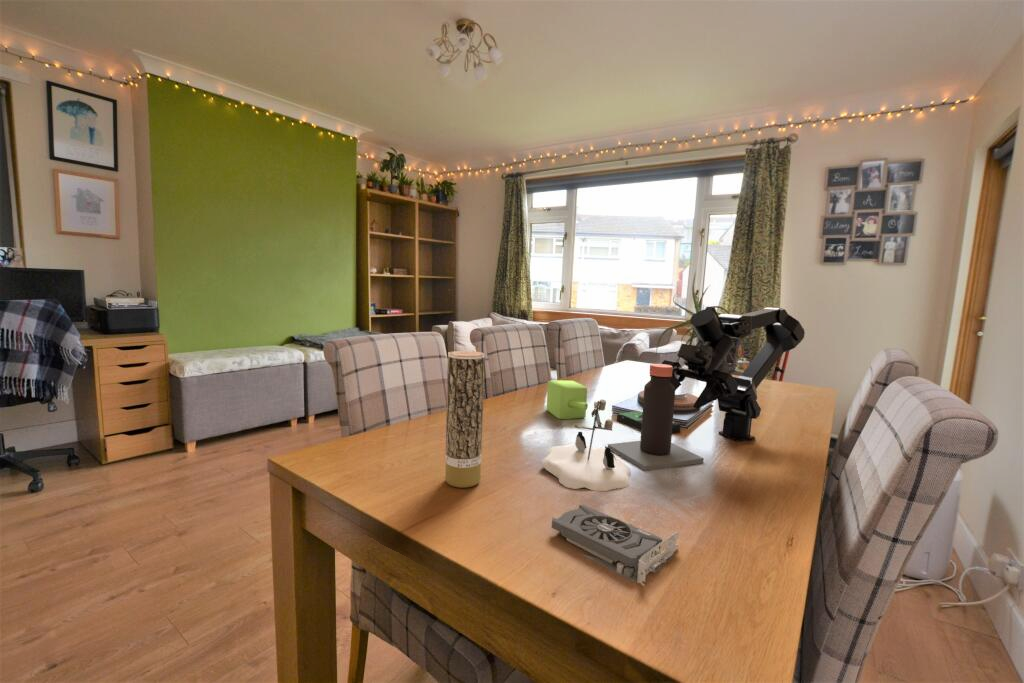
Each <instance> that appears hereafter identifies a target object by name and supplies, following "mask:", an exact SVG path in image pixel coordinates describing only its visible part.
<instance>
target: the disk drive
mask: <svg viewBox="0 0 1024 683" xmlns="http://www.w3.org/2000/svg"><path fill="white" fill-rule="evenodd" d="M642 413H643V412H638V411H637V410H630V411H626V412H625V411H624V412H618V414H617V415H616V421H618V422H620V423H622V424H625V425H627V426H629V427H632V428H634V429H636V430H638V431H641V427H642ZM681 425H682V424H681V423H680V422H677V421H675V420H673V425H672V434H673V433H676V432H677V433H679V432H681Z"/></svg>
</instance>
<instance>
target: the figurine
mask: <svg viewBox="0 0 1024 683" xmlns="http://www.w3.org/2000/svg"><path fill="white" fill-rule="evenodd" d="M606 405H607V401H606V400H605V399H599V400H598V401H597V402H596V401H594V403H593V410H592V412H590V413H591V418H593V426H592V427H588V426H587V427H586V426H581V425H578V423H574V424H573V427H574V428H576V429H578V430H579V429H580V430H581V431H578V433H577V435H576V436H575V443H574V444H565V445H557V446H551V448H549V449H548V452H547V456H545V457H544V458H543V459H542V460H541V463H542V466H543V468H544V469H545V470H546V471H547V472H549V473H551V474H552V475H554V476H555V477H556V478H558V482H559V483H560V484H561V485H562V486H564V487H565V488H569V489H574V490H578V489H582V488H585V489H589V490H591V491H594V492H595V491H596V492H597V491H598V492H599V491H601V492H602V491H603V492H606V491H607V492H608V491H610V490H614V489H615V490H617V489H624V488H626V487H630V485H631V484H630V482H631V481H630V476H631V474H632V473H631V472H632V471H631V468H630V467H629V466H628V465H627V464H626V463H625V462H623V460H622V459H621V458H619V457H618V455H617V454H614V452H613V451H611V450H610V448H608V446H605V445H604V447H602V446H598V447H592V444H593V438H594V433H595V431H596V430H606V431H613V425H614V422H613V420H611V419H606V420H605V421H604V424H603V423H602V421H601V419H600V413H599V411H605V409H606ZM602 426H603V427H602ZM582 430H589V431H590V430H591V431H592V432H591V437H590V443H589V446H587V442H586V438H585V436H584V435H583V432H582ZM616 488H617V489H616Z"/></svg>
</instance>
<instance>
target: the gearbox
mask: <svg viewBox="0 0 1024 683" xmlns="http://www.w3.org/2000/svg"><path fill="white" fill-rule="evenodd" d="M546 393H547V394H546V410H547V411H548V412H549V413H551V415H553V416H554V417H556V418H557V419H559V420H569V419H571V420H573V419H581V418H586V416H587V415H586V414H587V413H586V412H587V409H588V407H589V406H588V404H589V403H587V399H588V388H587V387H586V386H584V385H583V384H581V383H579V382H576V381H575V380H559V379H558V380H548V381H547V392H546Z"/></svg>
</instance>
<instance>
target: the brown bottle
mask: <svg viewBox="0 0 1024 683" xmlns="http://www.w3.org/2000/svg"><path fill="white" fill-rule="evenodd" d="M672 371H673V366H671V365H666V364H662V363H651V364H650V365H649V377H650V380H649V381H647V383H645V385H644V388H643V400H642V401H643V402H642V410H643V413H642V427H641V430H640V440H639V441H640V449H641V450H642V451H643V452H645V453H648V454H652V455H667V454H669V453H670V450H671V443H672V436H673V433H672V425H673V421H674V411H675V410H674V409H675V398H676V390H675V387H674V386H673V385H672V384H671V382H670V379H671V378H672V377H671V376H672Z"/></svg>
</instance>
